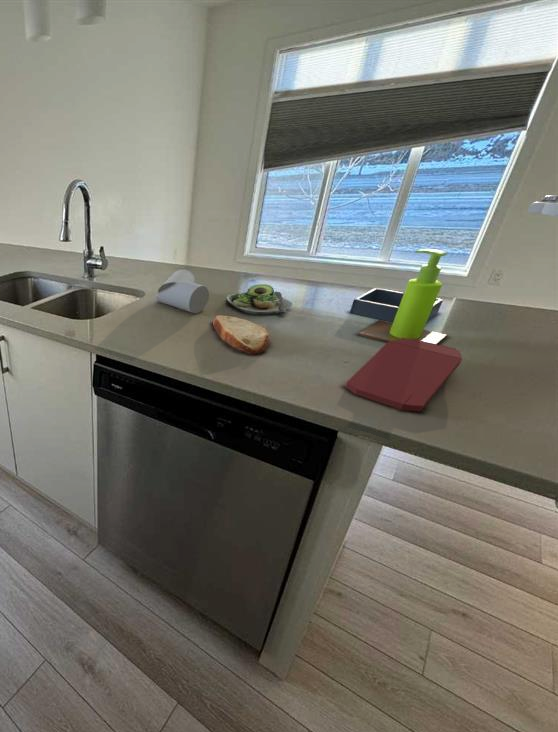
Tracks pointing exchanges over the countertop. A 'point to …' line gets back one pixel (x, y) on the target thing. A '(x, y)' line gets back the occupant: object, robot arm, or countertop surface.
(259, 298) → the salad plate
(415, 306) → the soap dispenser
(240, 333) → the bread slice
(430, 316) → the dark blue tray
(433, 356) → the maroon flat slab
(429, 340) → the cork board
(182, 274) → the elbow connector
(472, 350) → the countertop surface
